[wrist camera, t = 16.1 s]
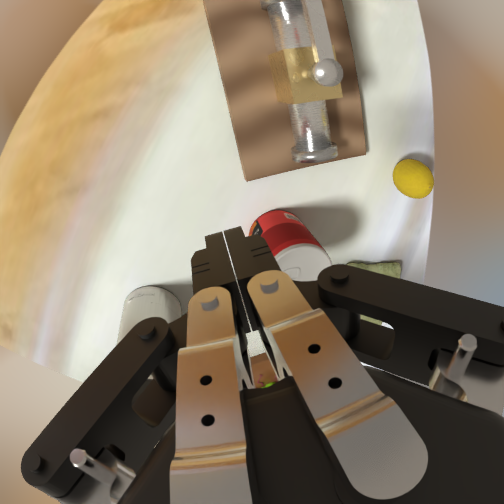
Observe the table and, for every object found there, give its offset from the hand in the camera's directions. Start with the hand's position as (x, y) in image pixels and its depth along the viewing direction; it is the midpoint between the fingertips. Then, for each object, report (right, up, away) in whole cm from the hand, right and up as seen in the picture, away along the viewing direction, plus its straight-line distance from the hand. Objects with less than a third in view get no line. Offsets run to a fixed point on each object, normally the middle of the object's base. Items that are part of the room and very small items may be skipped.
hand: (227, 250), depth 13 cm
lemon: (+23, +13, +30) cm, 40 cm away
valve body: (+6, +22, +21) cm, 31 cm away
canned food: (+4, +3, +31) cm, 32 cm away
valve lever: (+7, +22, +9) cm, 25 cm away
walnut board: (+6, +22, +21) cm, 31 cm away
